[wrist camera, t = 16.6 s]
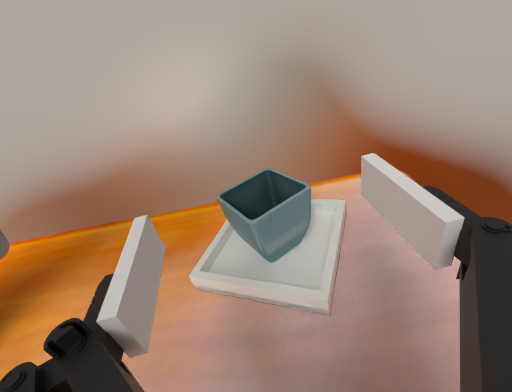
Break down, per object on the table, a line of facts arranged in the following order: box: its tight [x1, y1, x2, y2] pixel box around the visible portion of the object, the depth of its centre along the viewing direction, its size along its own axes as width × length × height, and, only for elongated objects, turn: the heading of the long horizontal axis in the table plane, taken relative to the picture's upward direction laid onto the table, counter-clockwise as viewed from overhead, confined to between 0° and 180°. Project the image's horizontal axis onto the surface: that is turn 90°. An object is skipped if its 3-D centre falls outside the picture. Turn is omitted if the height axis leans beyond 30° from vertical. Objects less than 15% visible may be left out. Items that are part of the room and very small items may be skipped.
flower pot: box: [216, 168, 311, 262], centre depth 35 cm, size 9×9×9 cm
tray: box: [189, 199, 346, 316], centre depth 37 cm, size 17×17×2 cm
